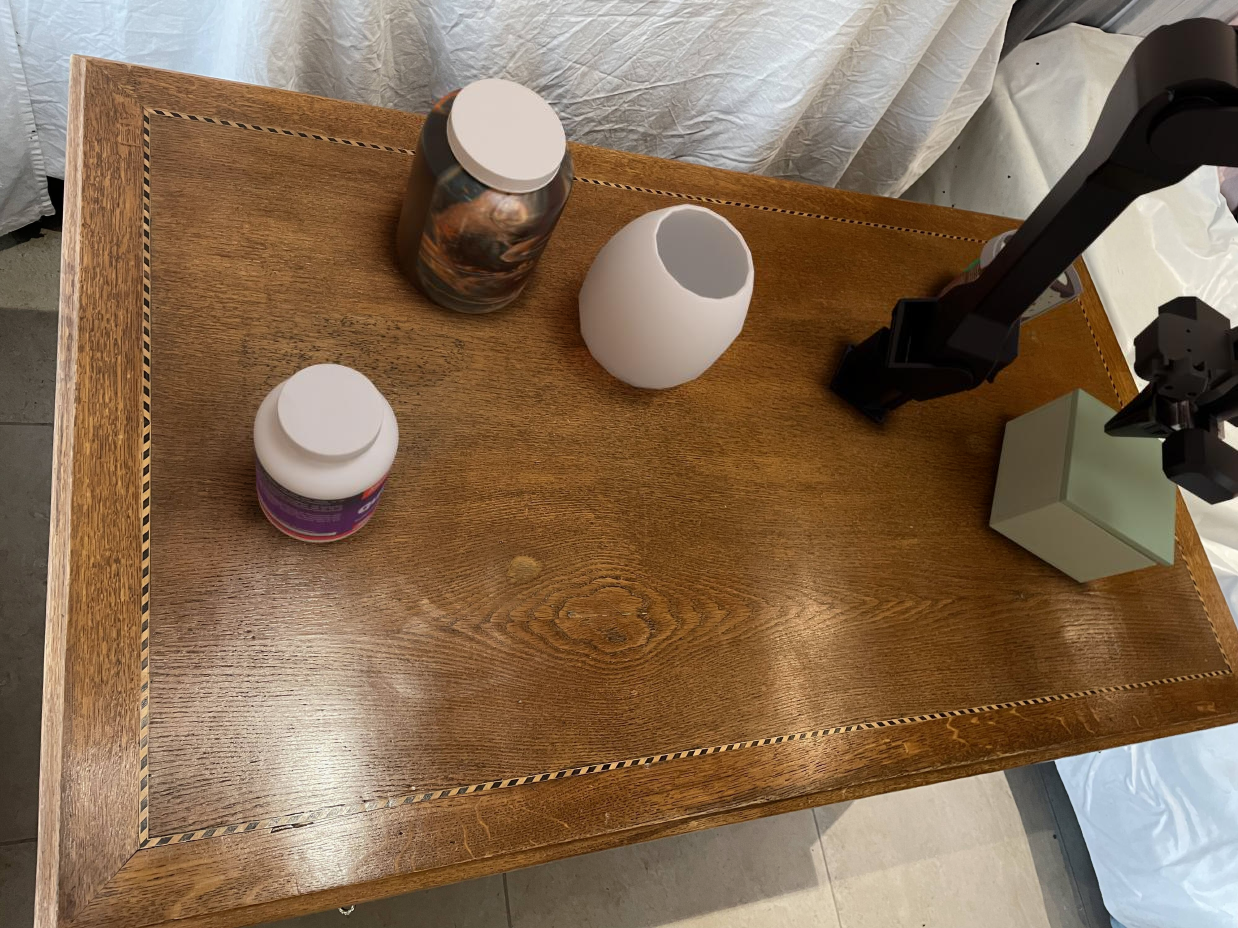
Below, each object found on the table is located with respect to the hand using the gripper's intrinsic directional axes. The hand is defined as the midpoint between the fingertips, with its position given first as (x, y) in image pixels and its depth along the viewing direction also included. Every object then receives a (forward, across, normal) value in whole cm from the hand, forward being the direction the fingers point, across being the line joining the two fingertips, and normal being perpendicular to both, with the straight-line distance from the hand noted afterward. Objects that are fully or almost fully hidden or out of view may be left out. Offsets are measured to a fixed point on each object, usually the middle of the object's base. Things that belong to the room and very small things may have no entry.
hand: (1107, 431), depth 74 cm
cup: (+12, +8, -44) cm, 46 cm away
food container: (+11, -18, -9) cm, 23 cm away
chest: (+11, +2, +4) cm, 12 cm away
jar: (+12, +8, -60) cm, 62 cm away
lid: (+2, +2, +4) cm, 5 cm away
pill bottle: (+12, +33, -61) cm, 70 cm away
